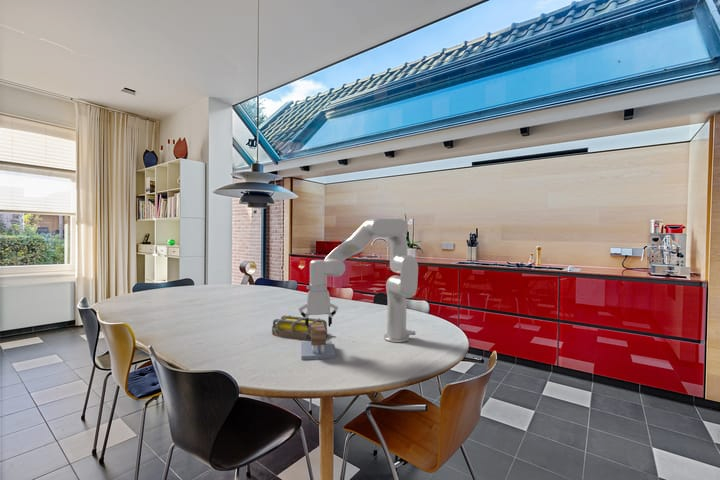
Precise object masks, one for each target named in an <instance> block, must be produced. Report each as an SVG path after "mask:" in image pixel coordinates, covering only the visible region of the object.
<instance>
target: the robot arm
mask: <svg viewBox="0 0 720 480" xmlns="http://www.w3.org/2000/svg"><path fill="white" fill-rule="evenodd" d="M408 231H409V224H408V222H407V221H406V220H404V219H403V218H370V219H366V220H365V221H364V222H363V223H362V224H361V225H360V226H359V227H358V228H357V229H356V230H355V231H354V232H353V233H352V234H351V235H350V236H349V237H348V238H347V239H346V240H344V241H343V242H342V243H341V244H339V245H338V246H337V247H335V248H334V249H333V250H331V252H330V253H329V254H327V256H325V258H324V259H313V260H310V262H309V285H306V290H309V291H308V293H307V299H306V304H304V305H302V306H300V307H299V308H298V312H299V313H300V315H301V317H304V318H305V325H307V328H308V327H309V319H308V318H310V317H309V316H310V315H311V316H314V315H315V316H316V315H328V316H327V317H328V318H327V319H328V323H327V326H328V327H329V328H330V327H331V325H332V324H333V318H334V316H335V315H336V313H337V311H338V309H339V307H338V305H335V304H333V303H332V302H331V298H330V297H331V296H330V292H329V290H328V278H327V277H341V276H342V275H343V274H344V273H345V272H346V264H345V263H344V261H345V260H347V259H348V258H350V257H352V256H355V255H358V254H359V253H361V252H362V251H363V250H364V249H365V248H366V247H367V246H368V245H369V243H371V242H372V240H373V239H374V238H387V239H388V242H389V244H390V245H389V246H390V250H389V251H390V252H389V253H390V255H389V268H390V270H391V271H392V272H393V273H396V274H400V275H392V276H390V277H388V279H387V280H386V283H385V289H386V290H385V291H386V296H387V297H386V299H387V306H386V308H387V311H386V312H387V315H386V316H387V317H386V319H387V320H386V333H385V334H384V335H383V339H384V340H385V341H388V342H392V343H405V342H408V341H409V340H410V336H415V335H416V333H417V332H416V330H411V329H407V305H408V304H407V299H410V298H413V297H414V296H415V295H416V293H417V291H418V277H419V264H418V261H417V259H416V258H415V257H414V256H412V255H411V254H410V255H409V253H408V250H409V249H408V241H407V237H406V236H405V235H406V234H407V233H408ZM331 308H333V310H332V311H331ZM305 309H306V313H305V312H304V310H305Z"/></svg>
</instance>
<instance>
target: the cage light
mask: <svg viewBox="0 0 720 480" xmlns="http://www.w3.org/2000/svg"><path fill="white" fill-rule="evenodd" d="M308 319H309V327H308V328H307V325H305V318H304V317H303V316H301V317H300V316H292V315H289V314H288V315H282V316H281V317H280V318H275V319H273V320H272V326H271V334H272V336H275V337H277V338H278V337H280V338H284V339H285V338H288V339H294V340H301V341H309V342H310V341H311V323H324V326H325V331H326V338H327V337H328V327H327V326H328V323H327V320H325V319H323V318H313V317H312V318H311V317H308Z"/></svg>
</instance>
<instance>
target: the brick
mask: <svg viewBox="0 0 720 480" xmlns="http://www.w3.org/2000/svg"><path fill="white" fill-rule="evenodd" d="M326 341H327V337H326V331H325V326H324V323H323V322H321V323H311V345H326Z"/></svg>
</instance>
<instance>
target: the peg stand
mask: <svg viewBox="0 0 720 480" xmlns="http://www.w3.org/2000/svg"><path fill="white" fill-rule="evenodd" d="M300 345H301V348H300V349H301V350H300V351H301V352H300V353H301V361H304V360H306V361H307V360H322V359H323V360H324V359H335V358H336V353H335V348H334V344H333V342H332V340H326V345H311V341H310V340H309V341H301V344H300Z"/></svg>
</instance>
